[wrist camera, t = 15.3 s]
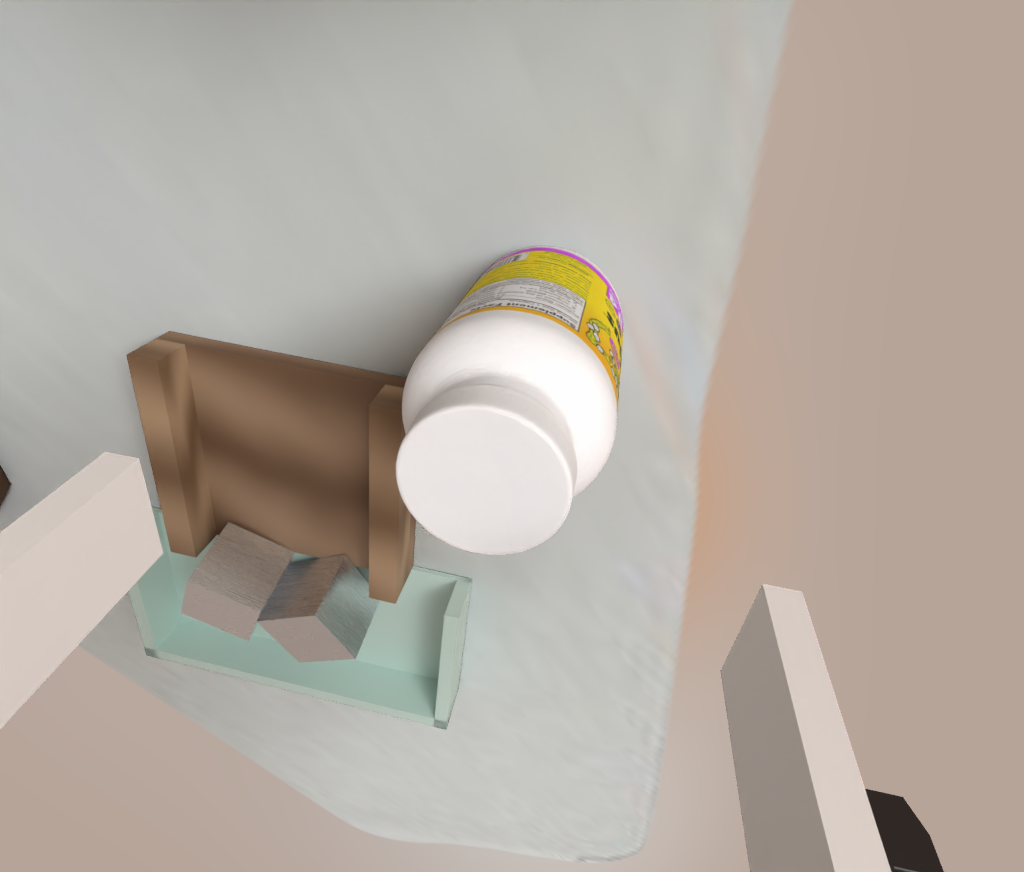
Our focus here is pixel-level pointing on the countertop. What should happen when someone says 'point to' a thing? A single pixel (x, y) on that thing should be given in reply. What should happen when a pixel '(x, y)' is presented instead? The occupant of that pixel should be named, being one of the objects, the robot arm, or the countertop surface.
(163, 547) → the tray
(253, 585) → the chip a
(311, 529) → the slot board
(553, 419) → the supplement bottle
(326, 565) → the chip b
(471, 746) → the countertop surface
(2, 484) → the beer bottle
